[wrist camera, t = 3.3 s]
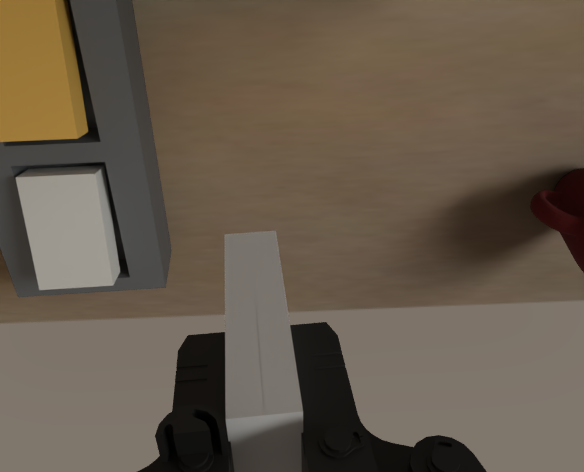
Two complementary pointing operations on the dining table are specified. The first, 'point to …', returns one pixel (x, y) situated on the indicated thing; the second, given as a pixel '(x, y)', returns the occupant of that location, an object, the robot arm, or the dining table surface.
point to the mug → (565, 211)
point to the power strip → (99, 155)
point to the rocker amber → (39, 73)
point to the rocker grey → (69, 226)
